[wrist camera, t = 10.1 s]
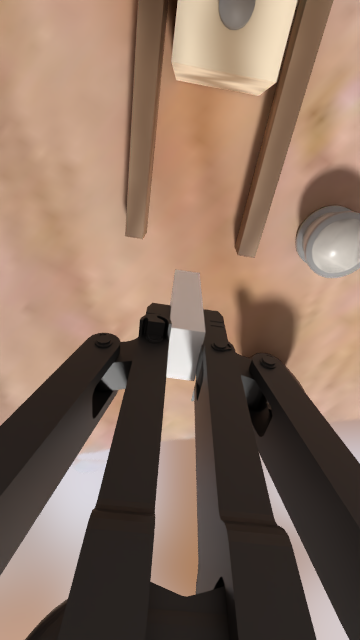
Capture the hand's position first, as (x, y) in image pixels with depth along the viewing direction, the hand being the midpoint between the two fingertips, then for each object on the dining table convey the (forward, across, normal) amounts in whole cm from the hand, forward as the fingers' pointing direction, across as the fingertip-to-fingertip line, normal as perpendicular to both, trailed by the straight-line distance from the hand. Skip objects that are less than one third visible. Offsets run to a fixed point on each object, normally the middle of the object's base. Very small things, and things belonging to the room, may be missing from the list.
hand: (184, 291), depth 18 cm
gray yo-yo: (+19, +17, +1) cm, 25 cm away
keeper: (+19, +1, +16) cm, 25 cm away
